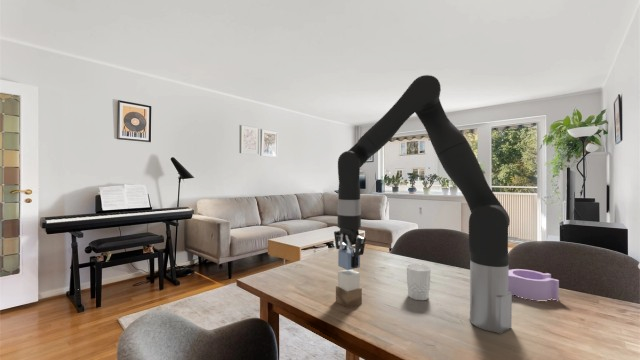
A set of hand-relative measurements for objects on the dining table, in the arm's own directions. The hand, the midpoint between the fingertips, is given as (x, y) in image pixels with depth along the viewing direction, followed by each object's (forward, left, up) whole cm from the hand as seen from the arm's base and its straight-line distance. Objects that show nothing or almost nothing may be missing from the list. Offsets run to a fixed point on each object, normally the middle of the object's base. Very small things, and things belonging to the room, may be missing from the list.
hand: (349, 265), depth 96 cm
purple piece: (-26, -56, -12) cm, 63 cm away
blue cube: (0, 0, 0) cm, 0 cm away
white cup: (-9, -23, -12) cm, 28 cm away
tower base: (0, 0, -12) cm, 12 cm away
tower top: (0, 0, -7) cm, 7 cm away
